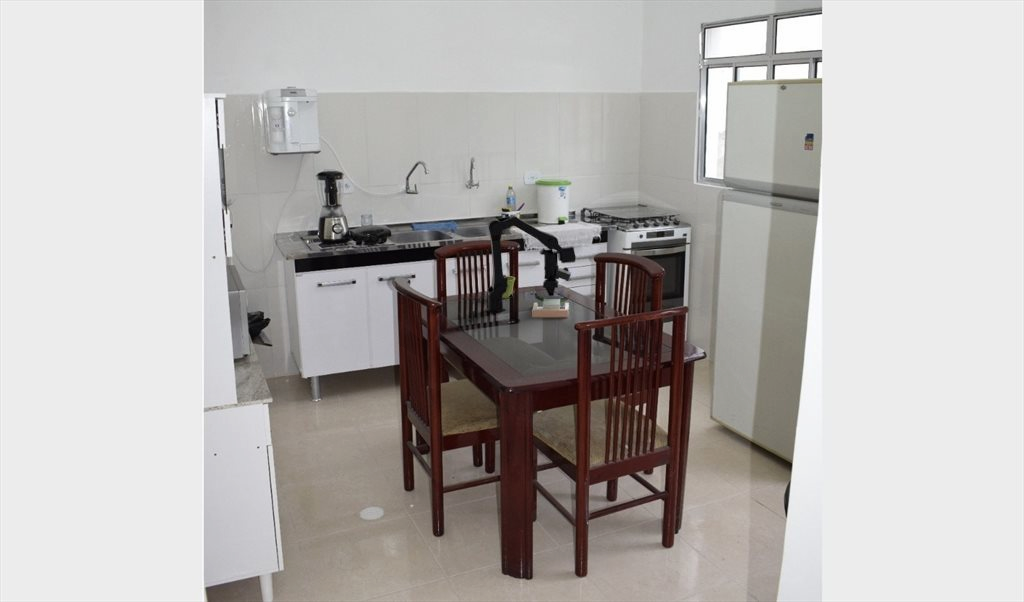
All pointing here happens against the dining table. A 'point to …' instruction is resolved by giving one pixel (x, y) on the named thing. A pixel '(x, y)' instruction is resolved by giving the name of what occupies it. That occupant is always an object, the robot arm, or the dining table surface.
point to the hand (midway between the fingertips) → (551, 298)
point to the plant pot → (509, 286)
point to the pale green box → (551, 302)
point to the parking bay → (549, 311)
